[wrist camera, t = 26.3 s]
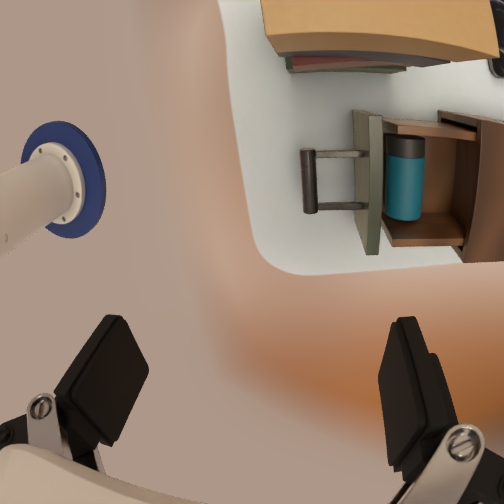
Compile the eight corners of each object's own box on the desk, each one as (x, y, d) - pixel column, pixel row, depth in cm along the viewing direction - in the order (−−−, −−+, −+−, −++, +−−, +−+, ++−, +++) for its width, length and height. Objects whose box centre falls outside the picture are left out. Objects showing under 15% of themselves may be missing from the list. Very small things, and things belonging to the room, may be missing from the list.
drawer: (305, 222, 34) (304, 256, 27) (297, 111, 28) (295, 116, 21) (450, 220, 30) (478, 252, 24) (458, 118, 24) (495, 128, 18)
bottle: (421, 209, 28) (418, 223, 26) (387, 204, 31) (380, 216, 28) (426, 136, 25) (424, 141, 22) (389, 132, 27) (382, 136, 24)
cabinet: (431, 222, 32) (463, 263, 24) (437, 110, 25) (481, 119, 17) (510, 223, 29) (547, 259, 21) (521, 125, 23) (569, 142, 14)
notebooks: (287, 76, 27) (261, 44, 10) (277, 5, 23) (239, -96, 6) (394, 76, 25) (504, 66, 8) (384, 5, 21) (467, -73, 4)
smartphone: (493, 76, 21) (465, -35, 13) (489, 75, 21) (462, -33, 14) (533, 84, 19) (509, -20, 12) (529, 84, 20) (505, -19, 12)
